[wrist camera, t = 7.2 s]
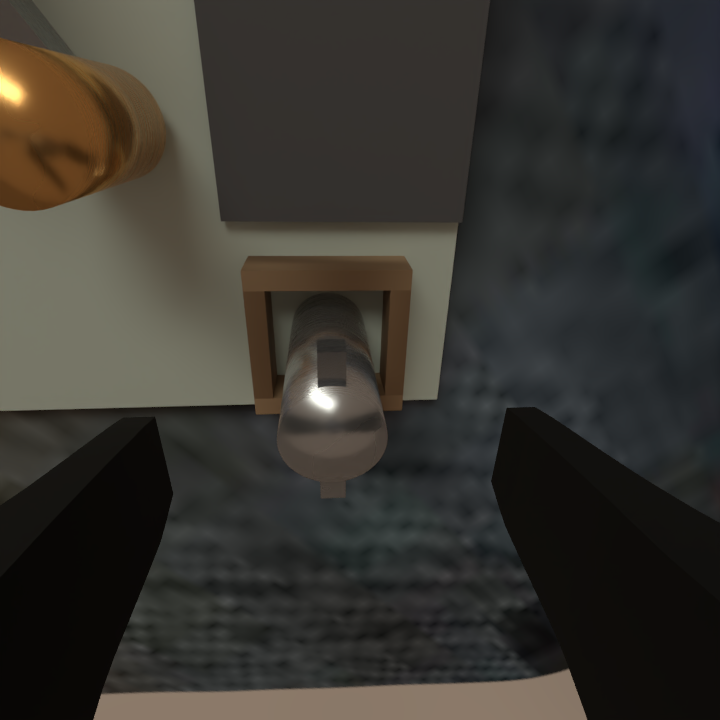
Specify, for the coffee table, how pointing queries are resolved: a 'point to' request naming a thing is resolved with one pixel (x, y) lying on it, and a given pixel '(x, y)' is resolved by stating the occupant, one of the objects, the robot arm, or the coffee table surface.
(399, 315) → the frame
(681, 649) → the robot arm
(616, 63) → the coffee table surface
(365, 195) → the rubber pad
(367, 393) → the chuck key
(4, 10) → the lever
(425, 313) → the board
